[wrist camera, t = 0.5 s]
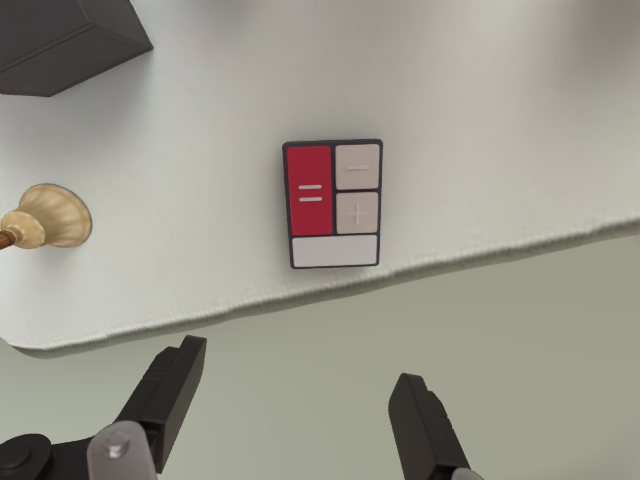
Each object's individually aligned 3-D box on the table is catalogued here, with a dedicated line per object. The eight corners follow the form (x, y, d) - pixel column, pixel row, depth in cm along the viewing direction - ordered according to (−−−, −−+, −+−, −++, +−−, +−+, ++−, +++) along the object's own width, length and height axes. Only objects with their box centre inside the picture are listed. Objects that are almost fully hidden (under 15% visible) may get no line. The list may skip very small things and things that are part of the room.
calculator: (384, 139, 33) (380, 268, 38) (376, 138, 37) (374, 255, 42) (280, 142, 33) (290, 272, 38) (284, 141, 37) (292, 258, 42)
